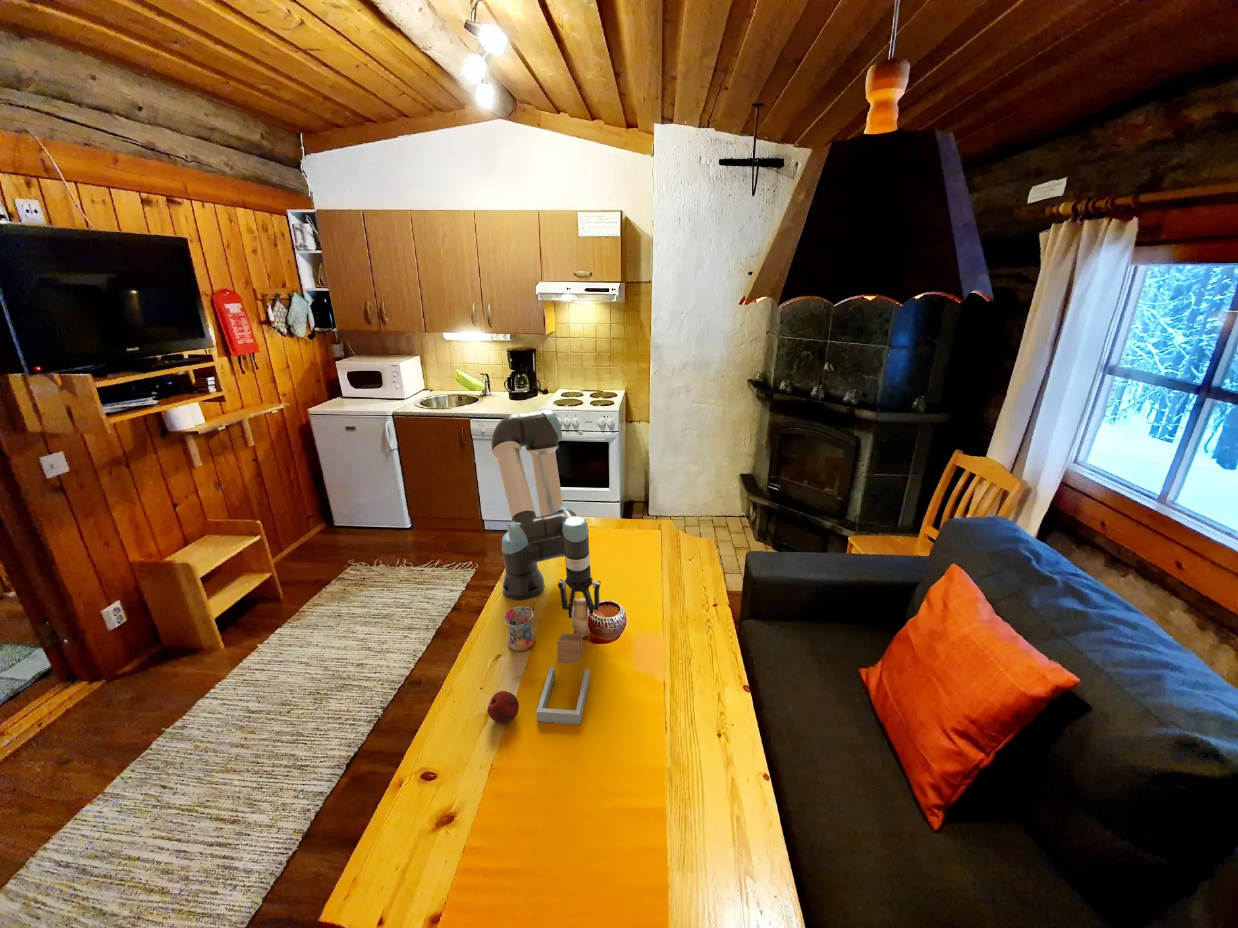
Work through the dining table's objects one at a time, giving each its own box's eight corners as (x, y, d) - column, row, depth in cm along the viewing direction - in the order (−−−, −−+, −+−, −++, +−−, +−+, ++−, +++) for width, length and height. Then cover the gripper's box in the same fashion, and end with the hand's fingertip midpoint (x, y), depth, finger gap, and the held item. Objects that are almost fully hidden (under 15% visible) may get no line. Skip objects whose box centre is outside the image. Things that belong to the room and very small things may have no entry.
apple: (494, 705, 132) (491, 683, 129) (523, 705, 131) (520, 683, 128) (487, 729, 125) (482, 706, 122) (516, 729, 125) (513, 706, 122)
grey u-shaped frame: (551, 676, 141) (550, 666, 139) (589, 678, 139) (589, 669, 138) (537, 721, 127) (536, 711, 125) (580, 724, 125) (579, 714, 124)
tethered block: (572, 631, 158) (573, 597, 157) (591, 631, 157) (591, 598, 157) (557, 662, 136) (557, 624, 135) (578, 663, 135) (578, 625, 135)
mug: (528, 656, 148) (524, 628, 144) (501, 650, 151) (497, 622, 147) (545, 630, 159) (542, 603, 155) (520, 624, 162) (516, 598, 158)
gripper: (547, 571, 147) (553, 632, 155) (604, 573, 145) (607, 635, 154) (553, 557, 154) (558, 616, 162) (607, 559, 152) (610, 619, 160)
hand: (582, 625), depth 158 cm, fingers closed on tethered block, 4 cm apart
